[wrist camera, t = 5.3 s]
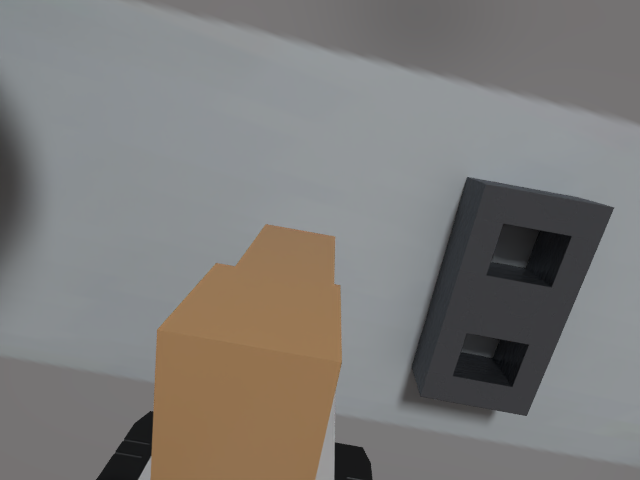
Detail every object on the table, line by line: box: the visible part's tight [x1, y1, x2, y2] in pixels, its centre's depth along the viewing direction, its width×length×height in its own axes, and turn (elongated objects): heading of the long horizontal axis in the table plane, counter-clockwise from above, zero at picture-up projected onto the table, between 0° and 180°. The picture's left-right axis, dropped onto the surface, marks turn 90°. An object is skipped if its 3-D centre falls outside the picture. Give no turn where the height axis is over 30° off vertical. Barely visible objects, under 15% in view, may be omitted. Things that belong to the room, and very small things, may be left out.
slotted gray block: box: [412, 177, 614, 416], centre depth 27 cm, size 16×8×4 cm, turn 170°
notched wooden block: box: [150, 224, 342, 480], centre depth 12 cm, size 12×3×10 cm, turn 170°
